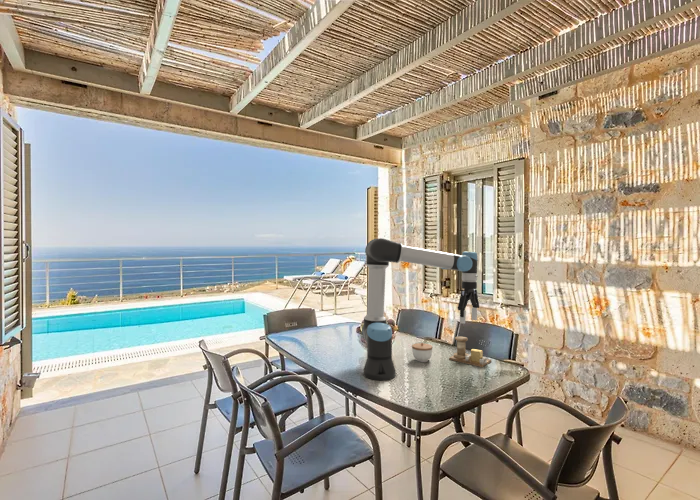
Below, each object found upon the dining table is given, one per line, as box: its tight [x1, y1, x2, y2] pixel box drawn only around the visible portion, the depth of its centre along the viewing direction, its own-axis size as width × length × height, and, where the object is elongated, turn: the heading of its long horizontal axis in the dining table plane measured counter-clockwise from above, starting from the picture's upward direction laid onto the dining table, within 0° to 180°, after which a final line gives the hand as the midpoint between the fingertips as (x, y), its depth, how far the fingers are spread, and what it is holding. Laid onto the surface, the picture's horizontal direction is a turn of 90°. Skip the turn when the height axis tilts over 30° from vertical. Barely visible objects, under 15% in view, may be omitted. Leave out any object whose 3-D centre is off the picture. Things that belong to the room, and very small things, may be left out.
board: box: [449, 353, 492, 368], centre depth 189 cm, size 12×18×4 cm, turn 47°
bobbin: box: [453, 335, 470, 359], centre depth 192 cm, size 8×8×10 cm
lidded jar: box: [411, 342, 433, 363], centre depth 189 cm, size 11×11×9 cm
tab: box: [470, 348, 484, 363], centre depth 183 cm, size 3×5×6 cm, turn 47°
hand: (468, 321), depth 185 cm, fingers open, 13 cm apart
